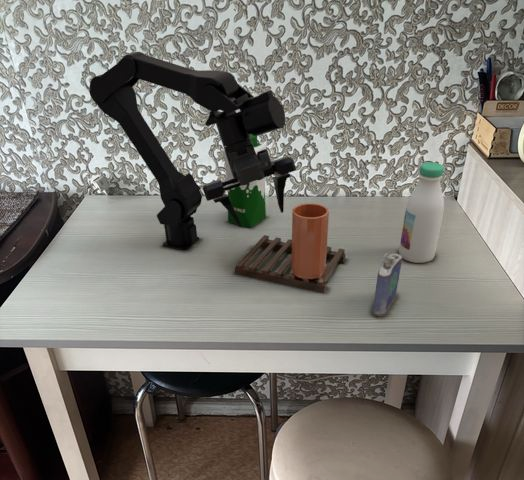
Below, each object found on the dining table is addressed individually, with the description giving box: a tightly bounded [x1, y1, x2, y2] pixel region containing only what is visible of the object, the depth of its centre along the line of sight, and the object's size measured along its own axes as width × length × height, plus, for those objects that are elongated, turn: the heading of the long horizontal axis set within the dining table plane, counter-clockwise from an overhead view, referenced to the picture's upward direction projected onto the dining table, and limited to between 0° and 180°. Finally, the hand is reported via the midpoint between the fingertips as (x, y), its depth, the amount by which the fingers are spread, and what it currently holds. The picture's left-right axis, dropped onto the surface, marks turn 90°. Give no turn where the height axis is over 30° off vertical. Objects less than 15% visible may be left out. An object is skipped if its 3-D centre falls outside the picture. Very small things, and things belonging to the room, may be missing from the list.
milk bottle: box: [398, 161, 445, 264], centre depth 112 cm, size 8×8×20 cm
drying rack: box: [234, 234, 347, 294], centre depth 115 cm, size 20×15×2 cm
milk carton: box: [221, 134, 267, 229], centre depth 129 cm, size 9×9×20 cm
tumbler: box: [290, 202, 330, 280], centre depth 106 cm, size 7×7×13 cm
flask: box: [372, 252, 403, 318], centre depth 100 cm, size 9×3×11 cm, turn 151°
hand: (261, 219), depth 111 cm, fingers open, 9 cm apart
